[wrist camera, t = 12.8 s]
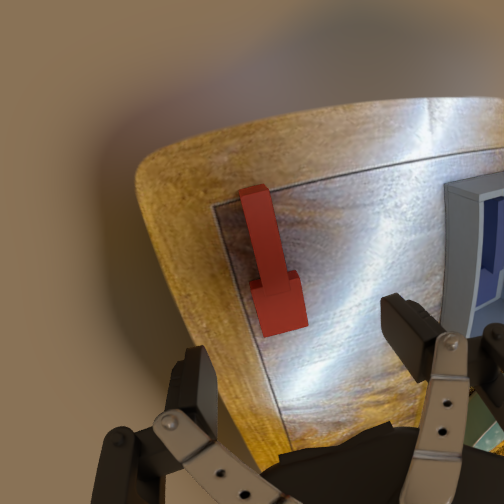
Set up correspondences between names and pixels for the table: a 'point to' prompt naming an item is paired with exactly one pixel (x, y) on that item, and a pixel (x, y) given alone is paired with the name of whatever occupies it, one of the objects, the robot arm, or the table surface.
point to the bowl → (481, 425)
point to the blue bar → (491, 249)
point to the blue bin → (468, 256)
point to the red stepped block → (271, 268)
